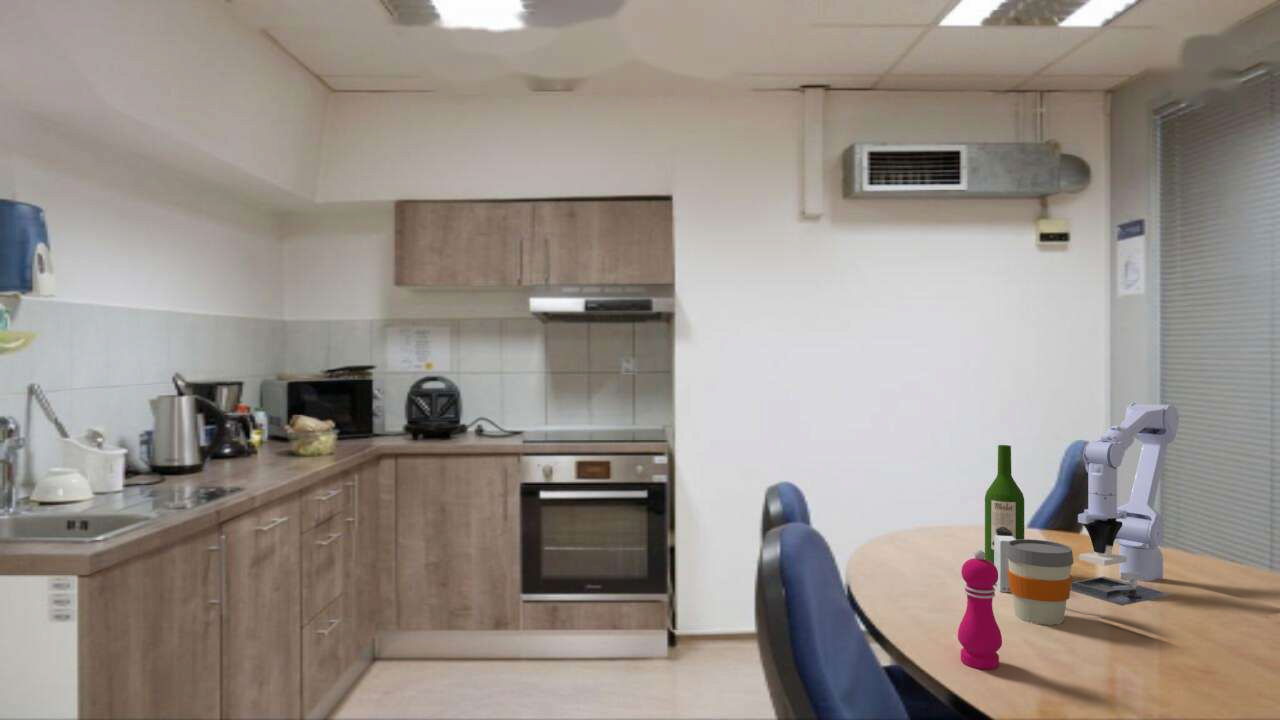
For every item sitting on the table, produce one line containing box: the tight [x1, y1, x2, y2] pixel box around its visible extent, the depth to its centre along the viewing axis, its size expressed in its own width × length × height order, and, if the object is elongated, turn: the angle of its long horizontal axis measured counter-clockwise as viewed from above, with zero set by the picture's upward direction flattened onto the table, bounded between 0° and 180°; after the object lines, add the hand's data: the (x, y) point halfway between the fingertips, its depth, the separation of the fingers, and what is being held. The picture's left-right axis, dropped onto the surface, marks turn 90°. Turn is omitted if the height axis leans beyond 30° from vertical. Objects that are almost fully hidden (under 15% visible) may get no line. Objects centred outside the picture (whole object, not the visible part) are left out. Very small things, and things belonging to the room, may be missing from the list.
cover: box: [1078, 545, 1127, 567], centre depth 177 cm, size 8×6×4 cm
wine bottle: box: [984, 444, 1025, 564], centre depth 191 cm, size 9×9×32 cm
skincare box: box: [994, 535, 1016, 593], centre depth 179 cm, size 6×4×12 cm
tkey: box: [1112, 572, 1145, 594], centre depth 170 cm, size 1×7×5 cm, turn 98°
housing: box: [1070, 576, 1173, 606], centre depth 175 cm, size 18×16×2 cm
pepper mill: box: [957, 549, 1003, 670], centre depth 135 cm, size 7×7×20 cm
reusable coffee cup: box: [1006, 538, 1075, 626], centre depth 159 cm, size 13×13×15 cm
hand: (1102, 552), depth 177 cm, fingers closed on cover, 2 cm apart
